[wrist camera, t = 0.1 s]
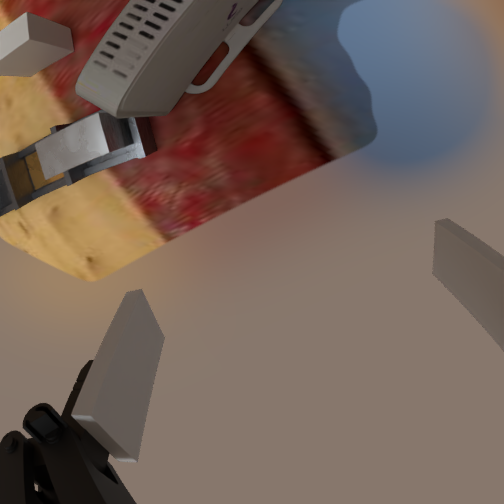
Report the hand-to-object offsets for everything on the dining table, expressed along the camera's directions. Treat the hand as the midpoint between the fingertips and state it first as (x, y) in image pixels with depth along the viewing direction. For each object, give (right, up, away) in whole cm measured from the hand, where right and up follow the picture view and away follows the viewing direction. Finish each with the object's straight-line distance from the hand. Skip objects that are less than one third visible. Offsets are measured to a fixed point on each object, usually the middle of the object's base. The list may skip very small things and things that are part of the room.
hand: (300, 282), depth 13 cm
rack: (-30, +14, +23) cm, 40 cm away
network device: (-6, +29, +17) cm, 34 cm away
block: (-30, +29, +16) cm, 44 cm away
